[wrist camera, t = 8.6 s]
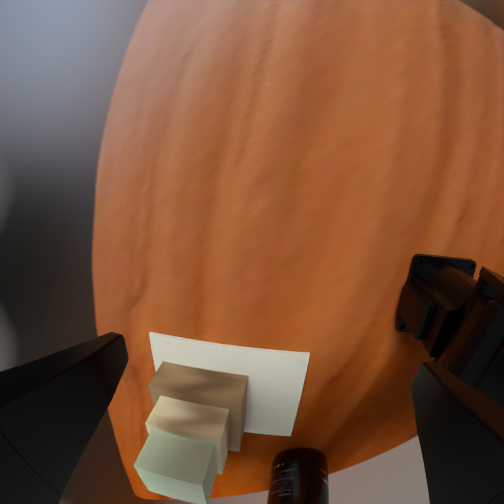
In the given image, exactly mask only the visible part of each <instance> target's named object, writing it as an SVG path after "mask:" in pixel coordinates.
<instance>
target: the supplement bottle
mask: <svg viewBox="0 0 504 504" xmlns="http://www.w3.org/2000/svg"><path fill="white" fill-rule="evenodd" d="M267 504H329V491H328V464H327V458H326V456H325V455H324V454H323V453H321V452H319V451H317V450H314V449H307V448H297V449H290V450H287V451H284V452H282V453H280V454H278V455H277V456H276V457H275V458H274V460H273V463H272V470H271V478H270V485H269V493H268V500H267Z"/></svg>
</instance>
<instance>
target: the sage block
mask: <svg viewBox="0 0 504 504" xmlns="http://www.w3.org/2000/svg"><path fill="white" fill-rule="evenodd" d="M134 467H135V469H136V471H137V472H138V474H139V476H140V477H141V479H142V481H143V482H144V484H145V485H146V487H147V488H148V490H149V491H152V492H155V493H158V494H161V495H165V496H168V497H171V498H175V499H178V500H183V501H186V502H190V503H194V504H208V501H209V498H210V494H211V490H212V487H213V483H214V479H215V476H216V472H217V466H216V455H215V444H214V443H209V442H204V441H199V440H195V439H190V438H186V437H182V436H178V435H174V434H170V433H166V432H163V431H159V430H156V429H152V431H151V433H150V434H149V436H148V438H147V440H146V442H145V444H144V446H143V448H142V450H141V452H140V454H139V456H138V458H137V460H136V462H135V464H134Z"/></svg>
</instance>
